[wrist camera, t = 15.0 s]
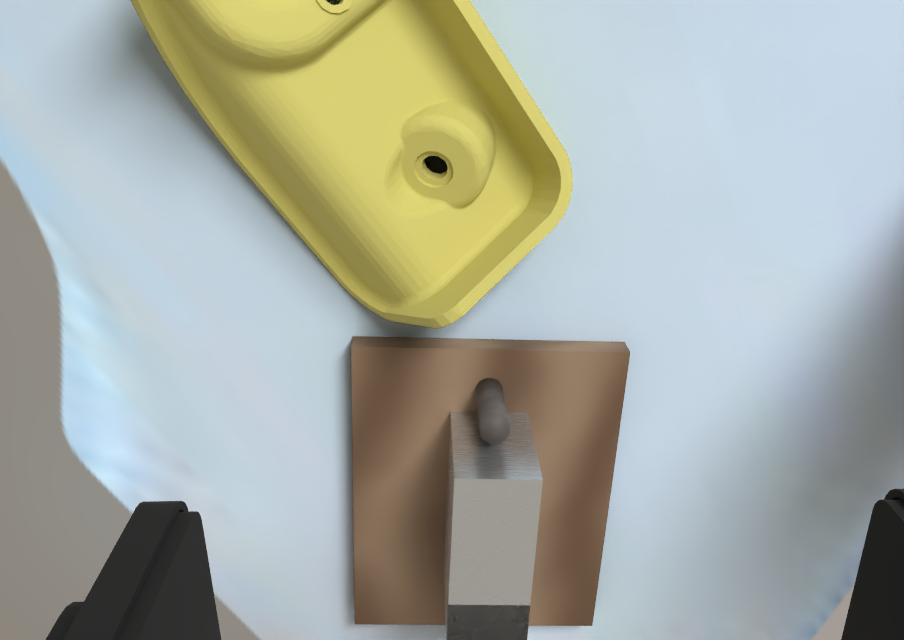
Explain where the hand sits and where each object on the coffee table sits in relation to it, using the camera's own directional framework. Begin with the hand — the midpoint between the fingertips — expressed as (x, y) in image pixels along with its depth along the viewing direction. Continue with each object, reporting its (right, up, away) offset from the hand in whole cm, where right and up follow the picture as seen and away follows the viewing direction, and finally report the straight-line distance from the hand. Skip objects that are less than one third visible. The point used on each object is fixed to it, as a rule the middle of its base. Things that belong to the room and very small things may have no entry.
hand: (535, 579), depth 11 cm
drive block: (+1, -6, +33) cm, 33 cm away
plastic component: (-5, +15, +25) cm, 30 cm away
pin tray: (0, -6, +34) cm, 35 cm away
